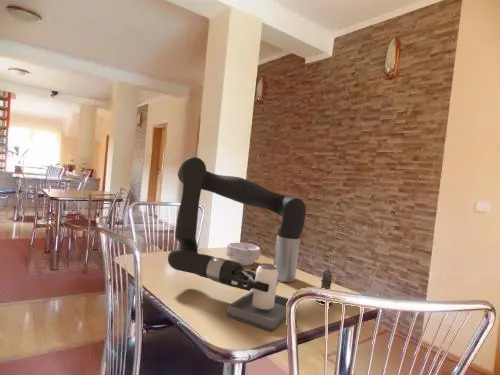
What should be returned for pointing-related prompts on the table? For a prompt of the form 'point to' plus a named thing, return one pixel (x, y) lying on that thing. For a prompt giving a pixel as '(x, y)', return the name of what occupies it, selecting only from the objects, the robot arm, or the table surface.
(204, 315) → the table surface
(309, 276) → the table surface
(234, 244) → the paper bowls
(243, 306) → the tray
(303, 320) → the table surface
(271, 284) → the can
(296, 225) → the robot arm
